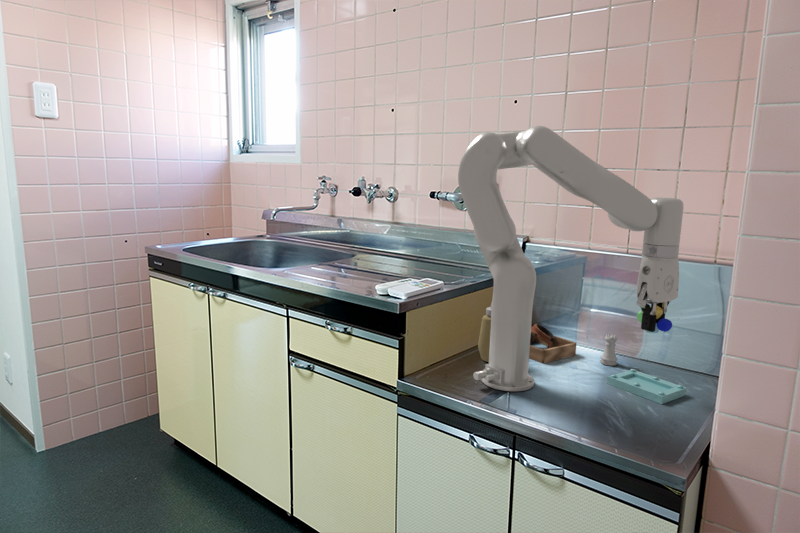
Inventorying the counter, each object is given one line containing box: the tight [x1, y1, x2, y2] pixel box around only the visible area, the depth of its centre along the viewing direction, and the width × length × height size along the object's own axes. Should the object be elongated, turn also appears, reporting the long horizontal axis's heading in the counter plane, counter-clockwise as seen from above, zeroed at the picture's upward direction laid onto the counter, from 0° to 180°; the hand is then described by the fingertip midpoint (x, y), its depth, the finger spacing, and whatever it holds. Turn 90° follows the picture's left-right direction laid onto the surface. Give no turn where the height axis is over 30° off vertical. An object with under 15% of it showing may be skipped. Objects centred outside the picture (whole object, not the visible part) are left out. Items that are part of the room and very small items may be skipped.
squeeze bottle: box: [477, 302, 492, 363], centre depth 145 cm, size 8×8×18 cm
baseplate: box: [607, 368, 687, 405], centre depth 129 cm, size 10×14×2 cm
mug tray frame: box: [529, 335, 577, 364], centre depth 155 cm, size 14×16×4 cm
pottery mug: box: [530, 323, 555, 349], centre depth 156 cm, size 12×10×8 cm
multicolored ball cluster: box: [636, 306, 673, 334], centre depth 126 cm, size 8×3×6 cm, turn 33°
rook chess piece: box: [599, 333, 618, 367], centre depth 146 cm, size 4×4×8 cm
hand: (652, 328), depth 126 cm, fingers closed on multicolored ball cluster, 2 cm apart
